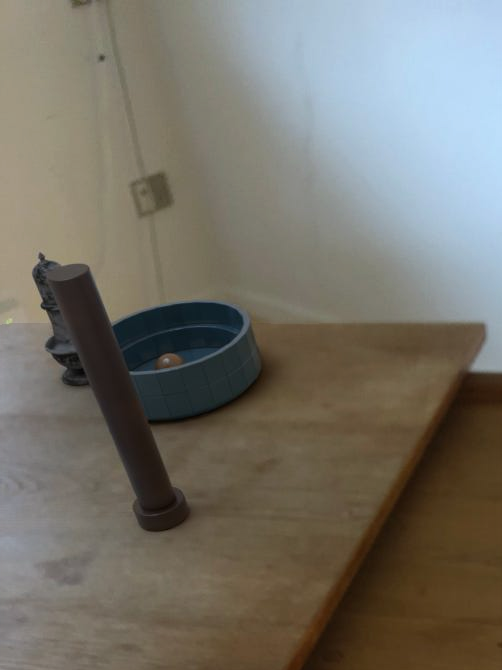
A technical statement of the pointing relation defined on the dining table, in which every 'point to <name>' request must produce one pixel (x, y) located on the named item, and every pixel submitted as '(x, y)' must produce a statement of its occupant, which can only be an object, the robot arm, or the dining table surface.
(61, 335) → the salt shaker
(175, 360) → the brown ball
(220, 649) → the dining table surface
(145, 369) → the bowl
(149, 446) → the brown pestle
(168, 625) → the dining table surface
